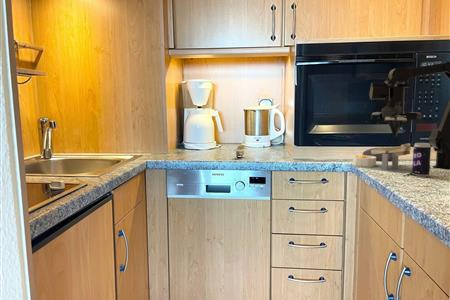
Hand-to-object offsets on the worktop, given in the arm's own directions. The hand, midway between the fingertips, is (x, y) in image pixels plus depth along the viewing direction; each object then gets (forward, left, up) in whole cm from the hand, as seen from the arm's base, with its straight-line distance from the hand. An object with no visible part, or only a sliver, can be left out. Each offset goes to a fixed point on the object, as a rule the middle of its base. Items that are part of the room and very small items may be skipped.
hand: (394, 136), depth 154 cm
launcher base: (+11, 0, -13) cm, 17 cm away
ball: (+11, -9, -9) cm, 17 cm away
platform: (+29, -63, -13) cm, 71 cm away
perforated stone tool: (-7, -10, -13) cm, 18 cm away
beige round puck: (+11, -8, -12) cm, 18 cm away
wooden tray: (+7, +4, -7) cm, 10 cm away
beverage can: (+12, +15, -13) cm, 23 cm away
